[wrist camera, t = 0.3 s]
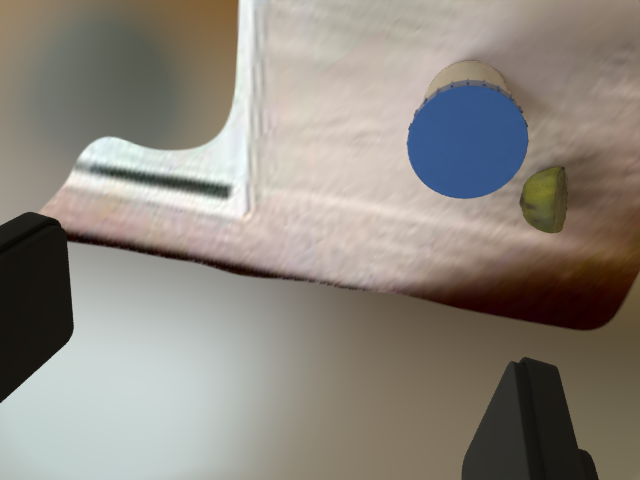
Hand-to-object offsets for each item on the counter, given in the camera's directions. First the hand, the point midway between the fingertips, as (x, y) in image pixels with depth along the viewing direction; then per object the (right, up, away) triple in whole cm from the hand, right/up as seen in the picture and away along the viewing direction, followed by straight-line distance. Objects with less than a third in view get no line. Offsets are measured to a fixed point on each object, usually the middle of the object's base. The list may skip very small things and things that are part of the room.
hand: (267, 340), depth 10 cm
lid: (+10, +8, +20) cm, 24 cm away
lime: (+19, +6, +31) cm, 37 cm away
